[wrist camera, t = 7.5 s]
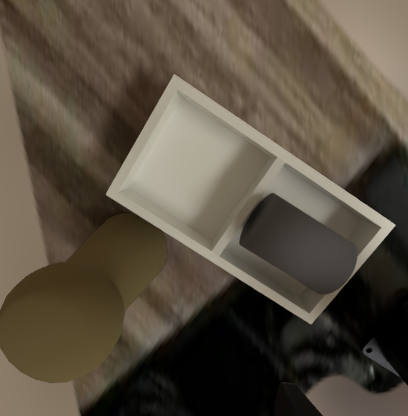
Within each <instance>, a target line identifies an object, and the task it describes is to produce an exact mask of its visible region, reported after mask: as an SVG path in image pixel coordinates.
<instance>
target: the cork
mask: <svg viewBox="0 0 408 416" xmlns="http://www.w3.org/2000/svg"><path fill="white" fill-rule="evenodd" d="M167 253H168V249H167V242H166V239H165V237H164V234H163V232H162V230H161V229H159V228H158V227H156V226H154V225H153V224H151V223H150V222H148V221H146V220H145V219H143V218H142V217H140V216H139V215H137V214H135V213H119V214H117V215H115V216H112V217H110V218H108V219H107V220H106V221H105V222H104V223H103V224H102V225H101V226H100V227H99V228H98V229H97V230H96V231H95V232H94V233H93V234H92V235H91V236H90V237H89V238H88V239H87V240H86V241H85V242H84V243H83V244H82V245H81V246H80V247H79V248H78V249H77V250H76V251H75V252H74V253H73V254H72V255H71V257H70V258H69V259H68V260H67V261H66V262H59V263H55V264H51V265H48V266H46V267H43V268H41V269H39V270H36V271H34V272H33V273H31V274H29V275H28V276H26V277H25V278H24V279H23V280H22V281H21V282H20V283H18V284H17V285H16V286H15V287H14V289H12V291H11V292H10V293H9V294H8V295H7V296H6V298H5V301H4V303H3V305H2V307H1V309H0V348H1V350H2V351H3V353H4V354H5V356H6V358H7V359H8V361H9V362H10V363H12V364H13V365H14V366H15V367H16V368H17V369H18V370H19V371H20V372H22V373H24V374H26V375H28V376H30V377H32V378H33V379H36V380H40V381H44V382H49V383H62V382H68V381H71V380H74V379H77V378H80V377H82V376H84V375H86V374H88V373H90V372H91V371H93V370H94V369H95V368H96V367H98V366H99V365H100V364H101V363H102V362H103V361H104V360H105V359H106V358H107V357H108V356H109V354H110V353H111V351H112V349H113V348H114V346H115V344H116V343H117V341H118V339H119V337H120V335H121V331H122V325H123V319H124V314H125V311H126V309H127V308H128V307H129V306H130V305H131V304H132V303H133V302H134V300H135V299H136V298H137V297H138V296H139V295H140V294H141V292H142V291H143V290H144V289H145V288H146V287H147V286H148V285H149V283H150V282H151V281H152V280H153V279H154V278H155V277H156V275H157V274H158V273H159V272H160V271H161V269H162V267H163V266H164V264H165V262H166V258H167Z"/></svg>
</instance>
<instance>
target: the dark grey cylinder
mask: <svg viewBox="0 0 408 416" xmlns="http://www.w3.org/2000/svg"><path fill="white" fill-rule="evenodd" d="M239 244H240V245H241V246H242V247H244V248H245V249H247V250H249V251H250V252H252V253H254V254H255V255H257V256H258V257H260V258H262V259H263V260H265V261H266V262H268V263H270V264H271V265H273V266H275V267H276V268H278V269H279V270H281V271H283V272H284V273H286V274H288V275H289V276H291V277H292V278H294V279H296V280H297V281H299V282H300V283H302V284H304V285H305V286H307V287H309V288H310V289H312V290H313V291H315V292H317V293H318V294H323V295H324V294H330V293H333V292H334V291H336V290H338V289H339V288H340V287H342V286H343V285H344V284H345V283H346V282H347V280H348V279H349V278H350V276H351V275H352V273H353V271H354V269H355V266H356V262H357V249H356V247H355V245H354V244H353V243H351V242H350V241H348V240H347V239H345V238H344V237H342V236H341V235H339V234H337V233H336V232H334V231H333V230H331V229H330V228H328V227H326V226H325V225H323V224H322V223H320V222H319V221H317V220H315V219H314V218H312V217H311V216H309V215H308V214H306V213H305V212H303V211H301V210H300V209H298V208H297V207H295V206H294V205H292V204H290V203H289V202H287V201H286V200H284V199H283V198H281V197H279V196H278V195H276V194H275V193H271V194H269V195H268V196H266V197H265V198H264V199H263V200H262V201H261V202H260V203H259V205H258V206H257V207H256V208H255V210H254V211H253V213H252V214H251V215H250V217H249V219H248V220H247V222H246V224H245V226H244V228H243V230H242V233H241V236H240V240H239Z"/></svg>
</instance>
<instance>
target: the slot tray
mask: <svg viewBox="0 0 408 416" xmlns="http://www.w3.org/2000/svg"><path fill="white" fill-rule="evenodd" d="M271 193H275V194H276V195H278V196H279V197H281V198H283V199H284V200H286V201H287V202H289V203H290V204H292V205H294V206H295V207H297V208H298V209H300V210H301V211H303V212H305V213H306V214H308V215H309V216H311V217H312V218H314V219H315V220H317V221H319V222H320V223H322V224H323V225H325V226H326V227H328V228H330V229H331V230H333V231H334V232H336V233H337V234H339V235H341V236H342V237H344V238H345V239H347V240H348V241H350V242H351V243H353V244H354V245H355V247H356V249H357V262H356V266H355V269H354V271H353V273H352V275H351V276H350V278H351V277H352V276H353V275H354V274H355V273H356V271H357V270H358V269H359V268H360V267H361V265H362V264H363V263H364V262H365V261H366V260H367V258H368V257H369V256H370V255H371V254H372V253H373V251H374V250H375V249H376V248H377V247H378V245H379V244H380V243H381V242H382V241H383V240H384V238H385V237H386V236H387V235H388V234H389V233H390V231H391V230H392V229H393V228H394V227H395V224H393V223H392V222H391V221H389V220H388V219H386V218H385V217H383V216H382V215H380V214H379V213H377V212H376V211H374V210H373V209H371V208H370V207H369V206H367V205H366V204H364V203H363V202H361V201H360V200H358V199H357V198H355V197H354V196H352V195H351V194H349V193H348V192H347V191H345V190H344V189H342V188H341V187H339V186H338V185H336V184H335V183H333V182H332V181H330V180H329V179H327V178H326V177H324V176H323V175H322V174H320V173H319V172H317V171H316V170H314V169H313V168H311V167H310V166H308V165H307V164H305V163H304V162H302V161H301V160H300V159H298V158H297V157H295V156H294V155H292V154H291V153H289V152H288V151H286V150H285V149H283V148H282V147H280V146H279V145H278V144H276V143H275V142H273V141H272V140H270V139H269V138H267V137H266V136H264V135H263V134H261V133H260V132H258V131H257V130H256V129H254V128H253V127H251V126H250V125H248V124H247V123H245V122H244V121H242V120H241V119H239V118H238V117H236V116H235V115H234V114H232V113H231V112H229V111H228V110H226V109H225V108H223V107H222V106H220V105H219V104H217V103H216V102H214V101H213V100H212V99H210V98H209V97H207V96H206V95H204V94H203V93H201V92H200V91H198V90H197V89H195V88H194V87H192V86H191V85H190V84H188V83H187V82H185V81H184V80H182V79H181V78H179V77H178V76H176V75H175V74H174V75H173V77H172V79H171V81H170V82H169V84H168V86H167V88H166V89H165V91H164V93H163V95H162V96H161V98H160V100H159V102H158V103H157V105H156V107H155V109H154V110H153V112H152V114H151V116H150V117H149V119H148V121H147V123H146V124H145V126H144V128H143V130H142V131H141V133H140V135H139V137H138V138H137V140H136V142H135V144H134V145H133V147H132V149H131V151H130V152H129V154H128V156H127V158H126V159H125V161H124V163H123V165H122V166H121V168H120V170H119V172H118V174H117V175H116V177H115V179H114V181H113V182H112V184H111V186H110V188H109V189H108V191H107V193H106V195H107V196H108V197H110V198H112V199H113V200H115V201H116V202H118V203H120V204H121V205H123V206H124V207H126V208H127V209H129V210H131V211H132V212H134V213H135V214H137V215H139V216H140V217H142V218H143V219H145V220H146V221H148V222H150V223H151V224H153V225H154V226H156V227H158V228H159V229H161V230H162V231H164V232H165V233H167V234H169V235H170V236H172V237H173V238H175V239H177V240H178V241H180V242H181V243H183V244H184V245H186V246H188V247H189V248H191V249H192V250H194V251H196V252H197V253H199V254H200V255H202V256H203V257H205V258H207V259H208V260H210V261H211V262H213V263H215V264H216V265H218V266H219V267H221V268H222V269H224V270H226V271H227V272H229V273H230V274H232V275H234V276H235V277H237V278H238V279H240V280H241V281H243V282H245V283H246V284H248V285H249V286H251V287H253V288H254V289H256V290H257V291H259V292H260V293H262V294H264V295H265V296H267V297H268V298H270V299H272V300H273V301H275V302H276V303H278V304H279V305H281V306H283V307H284V308H286V309H287V310H289V311H291V312H292V313H294V314H295V315H297V316H298V317H300V318H302V319H303V320H305V321H306V322H308V323H310V324H312V323H313V322H314V321H315V320H316V318H317V317H318V316H319V315H320V314H321V313H322V311H323V310H324V309H325V308H326V307H327V305H328V304H329V303H330V302H331V301H332V300H333V298H334V297H335V296H336V295H337V294H338V293H339V291H340V290H341V289H342V288H343V287H344V285H345V284H346V283H347V282H348V281H349V280H350V278H349V279H348V280H347V282H346V283H345V284H344V285H343V286H342V287H340V288H339V289H338V290H336V291H334V292H333V293H330V294H324V295H323V294H318V293H317V292H315V291H313V290H312V289H310V288H309V287H307V286H305V285H304V284H302V283H300V282H299V281H297V280H296V279H294V278H292V277H291V276H289V275H288V274H286V273H284V272H283V271H281V270H279V269H278V268H276V267H275V266H273V265H271V264H270V263H268V262H266V261H265V260H263V259H262V258H260V257H258V256H257V255H255V254H254V253H252V252H250V251H249V250H247V249H245V248H244V247H242V246H241V245H240V244H239V240H240V236H241V233H242V230H243V228H244V226H245V224H246V222H247V220H248V219H249V217H250V215H251V214H252V213H253V211H254V210H255V208H256V207H257V206H258V205H259V203H260V202H261V201H262V200H263V199H264V198H265V197H266V196H268V195H269V194H271Z"/></svg>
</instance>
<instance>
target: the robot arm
mask: <svg viewBox="0 0 408 416" xmlns="http://www.w3.org/2000/svg"><path fill="white" fill-rule="evenodd" d="M367 348H369V349H367ZM360 349H361V351H362V352H363V353H364V354H365V355H366V356H368V357H369V358H371V359H372V360H374V361H376V362H377V363H379V364H380V365H382V366H383V367H385V368H387V369H388V370H390V371H391V372H393V373H395V374H396V375H398V376H399V377H401V378H402V379H403V381H404V382H405V383H406V384H407V385H408V294H407V295H406V296H405V297H404V298H403V299H402V300H401V301H400V302H399V304H398V305H397V306H396V307H395V308H394V309H393V310H392V311H391V312H390V313H389V314H388V316H387V317H386V318H385V319H384V320H383V321H382V322H381V323H380V324H379V325H378V326H377V327H376V329H375V330H374V331H373V332H372V333H371V334H370V335H369V336H368V337H367V338H366V339H365V341H364V342H363V343H362V344H361V345H360ZM366 349H367V350H366ZM274 412H275V416H322V414H321V413H320V412H319V411H318V410H317V409H316V407H315V406H314V405H313V404H312V403H311V402H310V401H309V399H308V398H307V397H306V396H305V395H304V393H303V392H302V391H301V390H300V389H299V388H298V386H296V385H295V384H292V383H285V382H282V383H281V384H280V386H279V390H278V394H277V398H276V402H275V407H274Z"/></svg>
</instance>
